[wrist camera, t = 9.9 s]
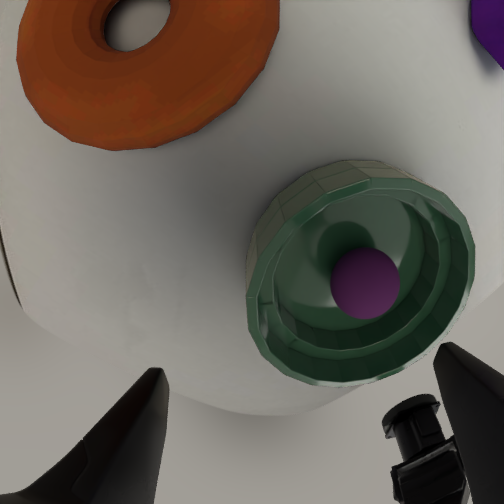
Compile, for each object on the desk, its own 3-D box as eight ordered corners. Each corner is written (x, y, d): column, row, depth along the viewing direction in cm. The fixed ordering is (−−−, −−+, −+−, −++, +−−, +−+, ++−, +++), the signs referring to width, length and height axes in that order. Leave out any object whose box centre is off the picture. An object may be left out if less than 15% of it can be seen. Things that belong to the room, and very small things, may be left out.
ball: (378, 290, 21) (403, 328, 17) (320, 296, 21) (337, 338, 17) (386, 233, 19) (418, 265, 15) (324, 237, 19) (346, 273, 15)
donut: (104, 187, 18) (66, 214, 14) (22, 21, 12) (-23, 14, 8) (320, 75, 16) (346, 66, 11) (210, -95, 10) (201, -135, 5)
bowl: (416, 329, 24) (439, 369, 20) (252, 346, 24) (253, 395, 20) (450, 163, 18) (495, 184, 13) (240, 160, 18) (237, 180, 13)
